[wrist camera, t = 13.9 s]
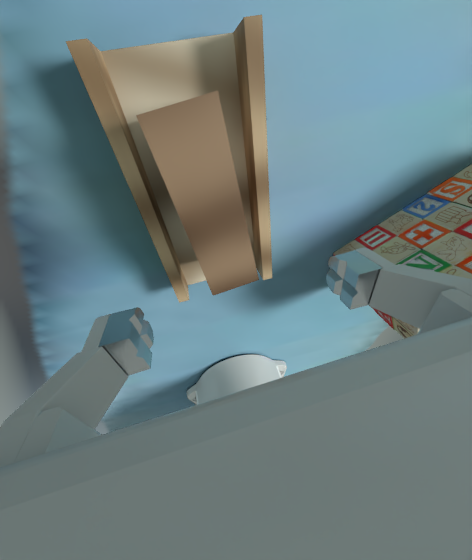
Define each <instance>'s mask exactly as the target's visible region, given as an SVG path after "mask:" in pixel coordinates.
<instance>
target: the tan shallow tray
mask: <svg viewBox="0 0 472 560" xmlns="http://www.w3.org/2000/svg"><path fill="white" fill-rule="evenodd" d="M66 43H67V46H68V48H69V50H70V52H71V55H72V57H73V59H74V62H75V64H76V66H77V68H78V71H79V73H80V75H81V78H82V80H83V82H84V85H85V87H86V89H87V91H88V94H89V96H90V98H91V101H92V103H93V105H94V108H95V110H96V112H97V114H98V117H99V119H100V121H101V124H102V126H103V128H104V130H105V133H106V135H107V137H108V140H109V142H110V144H111V147H112V149H113V151H114V153H115V156H116V158H117V160H118V163H119V165H120V167H121V170H122V172H123V174H124V176H125V179H126V181H127V183H128V186H129V188H130V190H131V192H132V195H133V197H134V199H135V202H136V204H137V206H138V209H139V211H140V213H141V215H142V218H143V220H144V222H145V225H146V227H147V229H148V232H149V234H150V236H151V238H152V241H153V243H154V245H155V248H156V250H157V252H158V254H159V257H160V259H161V261H162V264H163V266H164V268H165V271H166V273H167V275H168V277H169V280H170V282H171V284H172V287H173V289H174V291H175V294H176V296H177V298H178V300H179V302H183V301H187V300H189V294H188V285H190V284H194V283H197V282H201V281H205V280H206V278H205V276H204V273H203V271H202V269H201V266H200V264H199V262H198V259H197V257H196V255H195V252H194V250H193V248H192V245H191V243H190V241H189V238H188V236H187V234H186V231H185V229H184V227H183V224H182V222H181V220H180V217H179V215H178V213H177V210H176V208H175V206H174V203H173V201H172V199H171V196H170V194H169V192H168V189H167V187H166V185H165V182H164V180H163V178H162V175H161V173H160V171H159V168H158V166H157V164H156V161H155V159H154V157H153V154H152V152H151V150H150V147H149V145H148V143H147V140H146V138H145V136H144V133H143V131H142V129H141V126H140V124H139V122H138V119H137V117H136V115H139V114H142V113H146V112H149V111H152V110H155V109H159V108H162V107H165V106H169V105H172V104H175V103H178V102H182V101H185V100H188V99H191V98H195V97H198V96H201V95H205V94H208V93H211V92H214V91H218V94H219V98H220V103H221V107H222V112H223V117H224V121H225V126H226V131H227V135H228V140H229V144H230V149H231V154H232V158H233V163H234V167H235V172H236V177H237V181H238V186H239V191H240V195H241V200H242V204H243V209H244V214H245V218H246V223H247V228H248V232H249V237H250V241H251V246H252V251H253V255H254V260H255V265H256V268H257V270H258V272H259V273H260V275H261V277H262V279H263V280H266V279H270V278H272V258H271V232H270V206H269V181H268V155H267V129H266V104H265V78H264V52H263V26H262V15H257V16H250V17H244V18H243V19H242V21H241V22H240V24H239V25H238V27H237V28H236V30H235V31H234V32H233V33H227V34H220V35H213V36H206V37H199V38H192V39H185V40H178V41H171V42H164V43H157V44H150V45H143V46H136V47H129V48H122V49H115V50H108V51H100V50H99V49H97V48H96V47H95V46H94V45H93V44H92V43H91V42H90V41H89V40H88V39H80V40H73V41H66Z"/></svg>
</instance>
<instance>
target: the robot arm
mask: <svg viewBox="0 0 472 560" xmlns="http://www.w3.org/2000/svg"><path fill="white" fill-rule="evenodd" d="M328 266H329V267H330V268H331V269H330V270H329V271H328V273H327V276H326V281H327V285H328V287H329V289H330V290H331V291H332V292H333V293H335V294H337V295H340V300H341V301H342V302H343V303H344V304H345V305H346V306H347V307H348V308H349V309H350V310H351V309H355V308H358V307H362V306H366V305H369V306H370V307H373V308H375V309H377V310H379V311H381V312H384V313H386V314H388V315H390V316H392V317H395V318H397V319H399V320H401V321H403V322H405V323H408V324H410V325H412V326H414V327H416V328H419V329H420V330H419V332H418V334H417V335H414V336H411V337H408V338H405V339H401V340H398V341H395V342H392V343H389V344H386V345H383V346H379V347H376V348H373V349H370V350H367V351H364V352H361V353H358V354H354V355H351V356H348V357H345V358H342V359H339V360H336V361H332V362H329V363H326V364H323V365H320V366H317V367H314V368H310V369H307V370H304V371H301V372H298V373H295V374H292V375H289V376H285V377H284V374H285V371H286V368H287V366H286V363H285V362H284V361H279V360H271V359H269V358H267V357H265V356H261V355H241V356H236V357H232V358H229V359H226V360H224V361H221V362H219V363H217V364H216V365H214V366H212V367H211V368H209V369H208V370H207V371H206V372H205V373H204V374H203V375H202V376H201V378H200V379H199V381H198V382H197V383H196V384H195V385H194V386H192V387H191V388H190V389H189V390H188V391H187V397H188V399H189V400H191V401H192V402H193V403H195V404H196V405H194V406H191V407H188V408H185V409H182V410H179V411H175V412H172V413H169V414H166V415H163V416H160V417H157V418H153V419H150V420H147V421H144V422H141V423H138V424H135V425H132V426H128V427H125V428H122V429H119V430H116V431H113V432H110V433H106V434H104V435H102V434H100V433H99V432H97V431H96V430H95V428H96V427H97V425H98V423H99V422H100V420H101V419H102V417H103V416H104V414H105V413H106V411H107V410H108V408H109V406H110V405H111V403H112V402H113V400H114V399H115V397H116V395H117V394H118V392H119V391H120V389H121V388H122V386H123V384H124V383H125V381H126V380H127V378H128V376H129V375H132V374H135V373H138V372H141V371H144V370H147V369H150V368H151V360H152V352H151V351H150V348H151V346H152V345H153V340H154V337H153V331H152V328H151V325H150V324H149V322H148V321H145V320H143V318H144V313H143V312H142V310H141V309H140V308H138V307H137V308H133V309H129V310H125V311H121V312H117V313H112V314H109V315H105V316H101V317H98V318H97V319H96V320H95V322H94V324H93V326H92V329H91V331H90V333H89V336H88V338H87V340H86V343H85V345H84V347H83V350H82V352H80V353H77V354H76V355H75V356H74V357H72V358H71V359H70V360H69V361H68V362H67V363H66V364H65V365H64V366H63V367H62V368H61V369H60V370H58V371H57V372H56V373H55V374H54V375H53V376H52V377H51V378H50V379H49V380H48V381H47V382H46V383H45V384H44V385H42V386H41V387H40V388H39V389H38V390H37V391H36V392H35V393H34V394H33V395H32V396H31V397H29V398H28V399H27V400H26V401H25V402H24V403H23V404H22V405H21V406H20V407H19V408H18V409H17V410H15V411H14V412H13V413H12V414H11V415H10V416H9V417H8V418H7V419H6V420H5V421H4V422H3V423H2V425H1V427H0V560H472V279H469V278H464V277H459V276H454V275H449V274H445V273H440V272H435V271H430V270H425V269H420V268H416V267H411V266H406V265H401V264H398V265H395V264H393V263H392V262H390V261H388V260H386V259H385V258H383V257H381V256H380V255H378V254H376V253H375V252H373V251H371V250H370V249H368V248H364V247H363V248H359V249H356V250H353V251H350V252H347V253H343V254H339V255H335V256H332V257H330V259H329V262H328Z"/></svg>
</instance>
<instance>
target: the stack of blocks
mask: <svg viewBox="0 0 472 560" xmlns="http://www.w3.org/2000/svg"><path fill="white" fill-rule="evenodd" d="M363 247H364V248H368V249H370V250H371V251H373V252H375V253H376V254H378V255H380V256H381V257H383V258H385V259H386V260H388V261H390V262H392V263H393V264H395V265H398V264H401V265H406V266H411V267H416V268H420V269H425V270H430V271H435V272H440V273H445V274H449V275H454V276H459V277H464V278H469V279H472V164H471V165H470V166H468V167H466V168H465V169H463V170H462V171H460V172H459V173H457V174H456V175H454V176H453V177H452V178H450V179H448V180H446V181H445V182H443V183H442V184H440V185H438V186H437V187H435V188H434V189H432V190H431V191H429V192H427V194H426V195H423V196H422V197H420V198H419V199H417V200H416V201H414V202H413V203H411V204H409V205H408V206H406V207H405V208H403V209H402V210H401V211H399V212H397V213H396V214H394V215H393V216H391V217H389V218H388V219H386V220H385V221H383V222H382V223H380V224H379V225H376V226H375V227H373V228H372V229H370V230H369V231H367V232H365V233H364V234H362V235H361V236H359V237H358V238H356V239H355V240H353V241H351V242H350V243H348V244H346V245H345V246H343V247H342V248H340V249H339V250H337V251H336V252H334V253H333V255H334V256H335V255H339V254H343V253H347V252H350V251H353V250H356V249H359V248H363ZM372 308H373V307H372ZM373 309H374V310H375V312H376V313H377V314H378V315H379V316H380V317H381V318H383V319H384V321H385V322H387V323H388V324H389V325H390V326H391V327H392V328H393V329H394V330H396V331H397V332H398V333H399V334H400V335H401V336H402V337H403V338H404V339H405V338H408V337H411V336H414V335H417V334H418V332H419V330H420V329H419V328H416V327H414V326H412V325H410V324H408V323H405V322H403V321H401V320H399V319H397V318H395V317H392V316H390V315H388V314H386V313H384V312H381V311H379V310H377V309H375V308H373Z"/></svg>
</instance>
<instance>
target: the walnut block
mask: <svg viewBox="0 0 472 560" xmlns="http://www.w3.org/2000/svg"><path fill="white" fill-rule="evenodd" d="M136 117H137V119H138V122H139V124H140V126H141V129H142V131H143V133H144V136H145V138H146V140H147V143H148V145H149V147H150V150H151V152H152V154H153V157H154V159H155V161H156V164H157V166H158V168H159V171H160V173H161V175H162V178H163V180H164V182H165V185H166V187H167V189H168V192H169V194H170V196H171V199H172V201H173V203H174V206H175V208H176V210H177V213H178V215H179V217H180V220H181V222H182V224H183V227H184V229H185V231H186V234H187V236H188V238H189V241H190V243H191V245H192V248H193V250H194V252H195V255H196V257H197V259H198V262H199V264H200V266H201V269H202V271H203V273H204V276H205V278H206V280H207V283H208V285H209V287H210V290H211V292H212V294H213V295H216V294H219V293H222V292H225V291H228V290H231V289H233V288H236V287H239V286H242V285H245V284H248V283H251V282H254V281H257V280H259V278H258V274H257V269H256V265H255V260H254V255H253V251H252V246H251V241H250V237H249V232H248V228H247V223H246V218H245V214H244V209H243V204H242V200H241V195H240V191H239V186H238V181H237V177H236V172H235V167H234V163H233V158H232V154H231V149H230V144H229V140H228V135H227V131H226V126H225V121H224V117H223V112H222V107H221V103H220V98H219V94H218V91H214V92H211V93H208V94H205V95H201V96H198V97H195V98H191V99H188V100H185V101H182V102H178V103H175V104H172V105H169V106H165V107H162V108H159V109H155V110H152V111H149V112H146V113H142V114H139V115H136Z"/></svg>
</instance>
